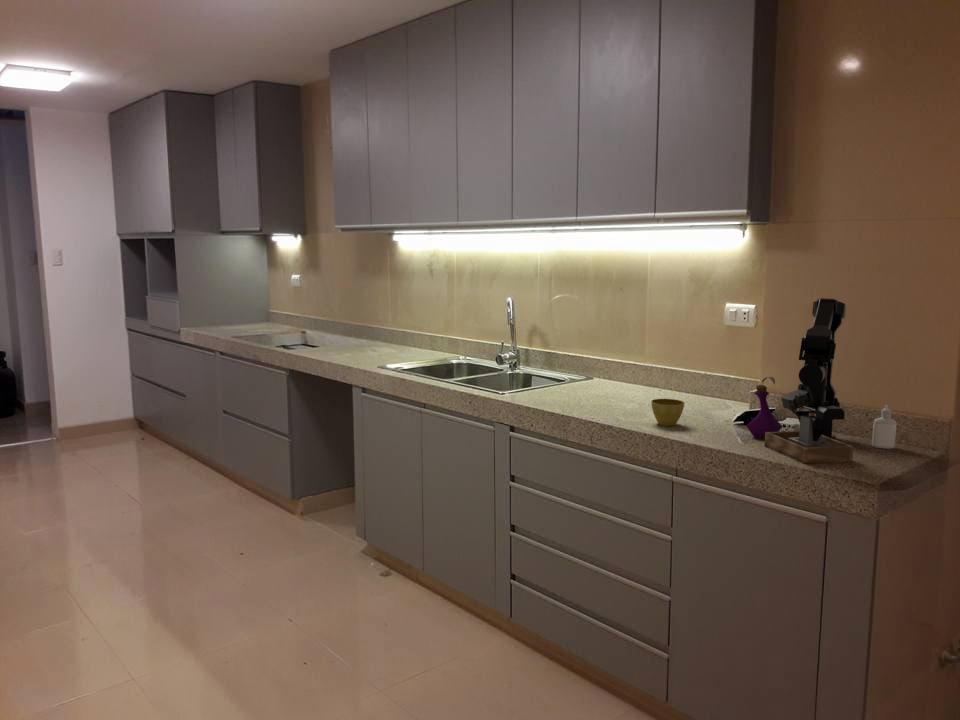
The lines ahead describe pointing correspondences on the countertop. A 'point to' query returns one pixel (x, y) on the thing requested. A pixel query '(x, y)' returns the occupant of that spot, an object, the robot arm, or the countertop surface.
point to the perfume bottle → (763, 415)
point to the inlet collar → (823, 444)
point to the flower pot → (667, 411)
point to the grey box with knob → (807, 430)
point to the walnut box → (808, 455)
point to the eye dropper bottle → (884, 430)
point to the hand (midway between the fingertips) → (810, 439)
